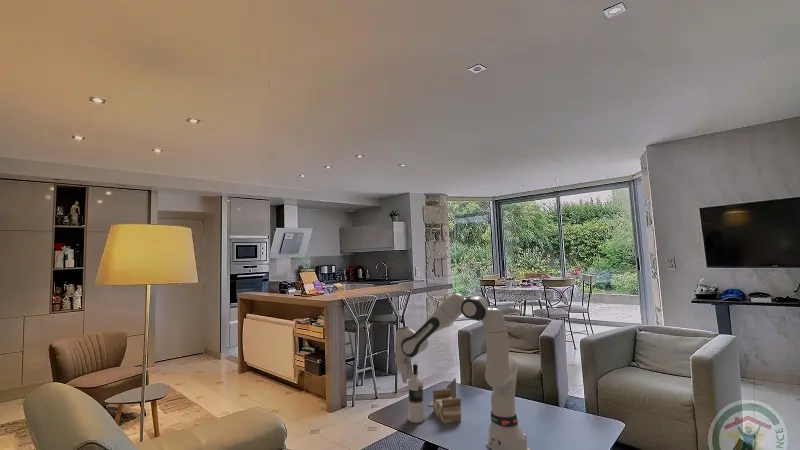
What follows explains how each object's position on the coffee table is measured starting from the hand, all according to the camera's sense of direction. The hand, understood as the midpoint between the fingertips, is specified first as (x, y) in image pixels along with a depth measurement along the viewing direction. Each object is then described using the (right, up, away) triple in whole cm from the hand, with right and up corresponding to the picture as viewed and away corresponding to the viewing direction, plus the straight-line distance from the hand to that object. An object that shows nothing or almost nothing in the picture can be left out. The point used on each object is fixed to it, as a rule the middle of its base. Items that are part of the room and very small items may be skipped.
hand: (404, 382), depth 210 cm
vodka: (+6, -21, 0) cm, 22 cm away
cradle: (+24, -21, +4) cm, 32 cm away
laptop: (+24, -23, +25) cm, 42 cm away
